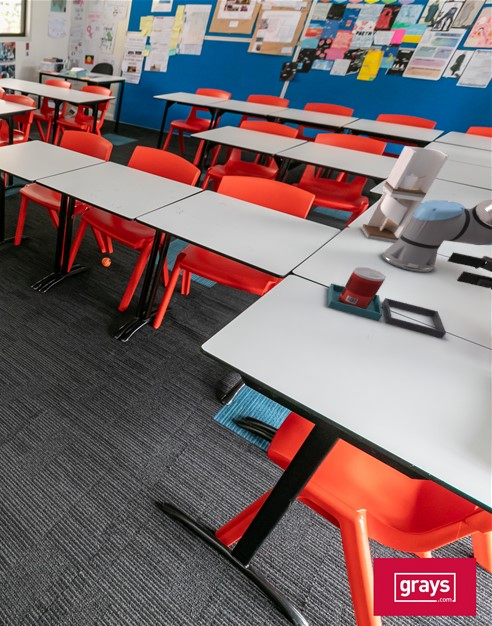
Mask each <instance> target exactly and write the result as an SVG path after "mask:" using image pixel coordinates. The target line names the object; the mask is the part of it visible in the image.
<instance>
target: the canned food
mask: <svg viewBox="0 0 492 626" xmlns="http://www.w3.org/2000/svg"><path fill="white" fill-rule="evenodd" d="M386 278H387V277H386V275H385V274H384V273H382V272H380V271H379V270H376V269H373V268H371V267H363V266H362V267H361V266H359V267H355V268H354V269H353V271H352V273H351V274H350V276H349V278H348V280H347V281H346V284H345V285H344V289H343V291H342V293H341V294H340V296H339V301H340V302H341V303H344V304H347V305H351V306H355V307H359V308H362V309H366V308H367V307H368V306H369V305H370V303H371V301H372V300H373V298H374V297H375V295H377V293H378V292H379V290H380V288H381V287H382V285H383V284H384V282H385V280H386Z"/></svg>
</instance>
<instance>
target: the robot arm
mask: <svg viewBox="0 0 492 626" xmlns="http://www.w3.org/2000/svg"><path fill="white" fill-rule="evenodd" d="M444 242H452V243H460V244H466V245H475V246H492V199H486V200H482V201H480V202H479V203H478V204H476V205H475V206H473V207H471V208H466V207H465V206H464V205H463V204H462V203H460V202H456V201H449V200H444V199H437V200H436V199H432V200H426V201H424V202H421V204H420V205H419V207H418V208H417V210H416V211H415V212H414V213H413V216H412V218H411V220H410V221H409V223H408V225H407V226H406V228H405V230H404V231H403V233H402V235H401V237H400V238H399V239H398V240H397V241H396V242H393V244H392V245H390V246H389V247H388V248H387V249H386V250H385V251H384V252H383V254H382V260H384V261H385V262H387V263H388V264H389V265H392V266H395V267H397V268H400V269H402V270H406V271H411V272H417V273H429V272H431V271H432V270H433V269H434V268H435V265H436V261H437V255H438V251H439V248H440V247H441V245H442V244H443V243H444ZM447 262H448V263H453V264H457V265H461V266H466V267H471V268H474V269H475V270H479V269H480V268H481V269H483V270H485V271H488V272H490V273H492V257H490V256H487V255H483V256H482V257H477V256H473V255H469V254H464V253H459V252H454V251H453V252H452V253H451V254H450V256H449V258H448V259H447ZM456 281H457V282H460V283H464V284H468V285H472V286H476V287H481V288H485V289H490V290H491V291H492V276H488V275H483V274H479V273H474V272H469V271H465V270H462V272H461V273H460V275H459V276H458V278H457V279H456Z"/></svg>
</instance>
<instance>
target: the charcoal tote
mask: <svg viewBox="0 0 492 626" xmlns="http://www.w3.org/2000/svg"><path fill="white" fill-rule="evenodd" d="M381 306H382V311H383V314H384V320H385V323H386V324H387V325H392V326H394V327H395V326H396V327H399V328H403V329H406V330H410V331H413V332H416V333H420V334H424V335H428V336H432V337H436V338H439V339H443V338H444V337H445V335H446V334H447V331H446V329H445V326H444V324H443V322H442V319H441V316H440V314H439V311H437V310H433V309H430V308H425V307H422V306H418V305H414V304H412V303H411V304H410V303H407V302H404V301H399V300H395V299H390V298H387V297H385V298H384V299H383V301H382V303H381ZM391 307H392V308H397V309H400V310H403V311H407V312H412V313H416V314H419V315H423V316H427V317H431V318H432V322H433V324H434V327H435V328H433V327H429V326H425V325H422V324H417V323H414V322H411V321H407V320H403V319H400V318H395V317H392V312H391Z"/></svg>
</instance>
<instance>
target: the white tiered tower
mask: <svg viewBox="0 0 492 626" xmlns="http://www.w3.org/2000/svg"><path fill="white" fill-rule="evenodd" d="M448 158H449V155H448V154H447V153H445V152H442V151H441V150H439V149H437V148H427V147H418V146H409V145H408V146H407V145H405V146H404V147H403V149H402V150H401V153H400V154H399V156H398V157H397V160H396V162H395V164H394V166H393V167H392V169H391V171H390V173H389V176H388V177H387V179H386V180H385V182H384V185H383V187H382V188H381V190H383V193H382V195H381V197H380V198H379V201H378V203H377V204H376V206H375V208H374V209H373V212H372V214H371V215H370V217H369V219H368V221H367V222H366V224H365V223H363V224H362V226H361V228H360V229H361V230H362V232H363V234H364V235H365V237H366V239H371V240H378V241H382V242H383V241H384V242H390V243H395V242H396V241H397V240H398V239H399V238H400V237H401V235H402V233H403V231H404V230H405V228H406V226H407V225H408V223H409V221H410V220H411V218H412V216H413V213H414V212H415V211H416V210H417V208H418V207H419V205H420V204H422V203H423V200H424V199H425V197H426V195H427V193H428V192H429V190H430V189H431V187H432V185H433V183H434V182H435V180H436V179H437V177H438V175H439V173H440V172H441V170H442V168H443V167H444V165H445V163H446V161H447V160H448Z"/></svg>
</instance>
